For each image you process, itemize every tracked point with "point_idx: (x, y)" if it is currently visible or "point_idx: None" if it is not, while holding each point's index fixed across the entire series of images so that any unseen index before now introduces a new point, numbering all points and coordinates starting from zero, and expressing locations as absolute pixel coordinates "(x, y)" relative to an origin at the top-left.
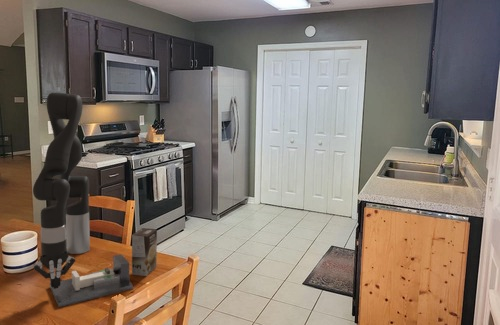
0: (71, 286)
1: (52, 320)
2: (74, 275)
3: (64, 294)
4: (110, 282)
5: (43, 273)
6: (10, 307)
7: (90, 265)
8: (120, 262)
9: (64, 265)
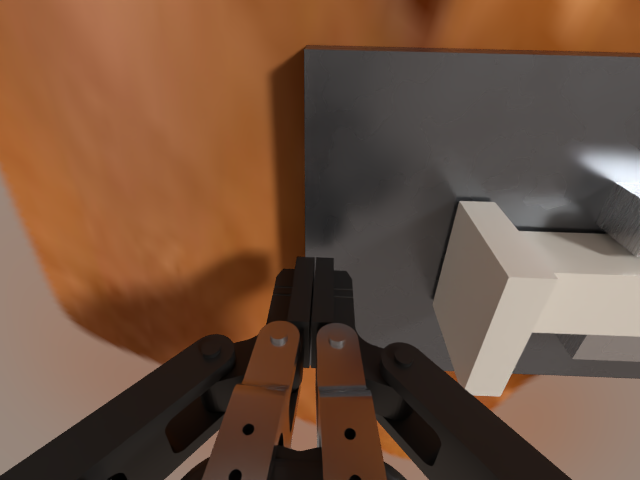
0: (441, 225)
1: None
2: (478, 364)
3: (359, 303)
4: None
5: (177, 445)
6: (54, 225)
7: None
8: None
9: (438, 419)
